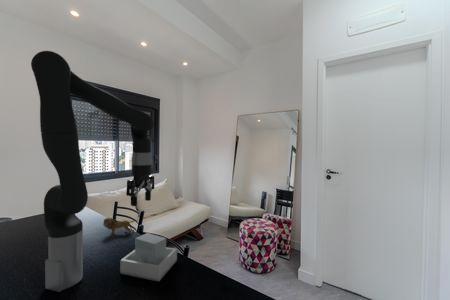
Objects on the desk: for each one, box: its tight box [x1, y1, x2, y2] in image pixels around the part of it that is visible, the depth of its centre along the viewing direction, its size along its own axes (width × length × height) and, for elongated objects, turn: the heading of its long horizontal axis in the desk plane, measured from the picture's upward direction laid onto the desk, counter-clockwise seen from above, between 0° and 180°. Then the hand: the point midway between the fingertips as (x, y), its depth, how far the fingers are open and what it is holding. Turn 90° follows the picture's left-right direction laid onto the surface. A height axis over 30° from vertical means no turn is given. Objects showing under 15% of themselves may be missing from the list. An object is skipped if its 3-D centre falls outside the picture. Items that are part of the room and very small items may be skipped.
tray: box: [119, 246, 178, 282], centre depth 79 cm, size 13×16×5 cm
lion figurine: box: [103, 217, 135, 236], centre depth 107 cm, size 15×5×9 cm, turn 111°
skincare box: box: [134, 232, 167, 265], centre depth 79 cm, size 10×6×10 cm, turn 64°
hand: (141, 203), depth 83 cm, fingers open, 8 cm apart
